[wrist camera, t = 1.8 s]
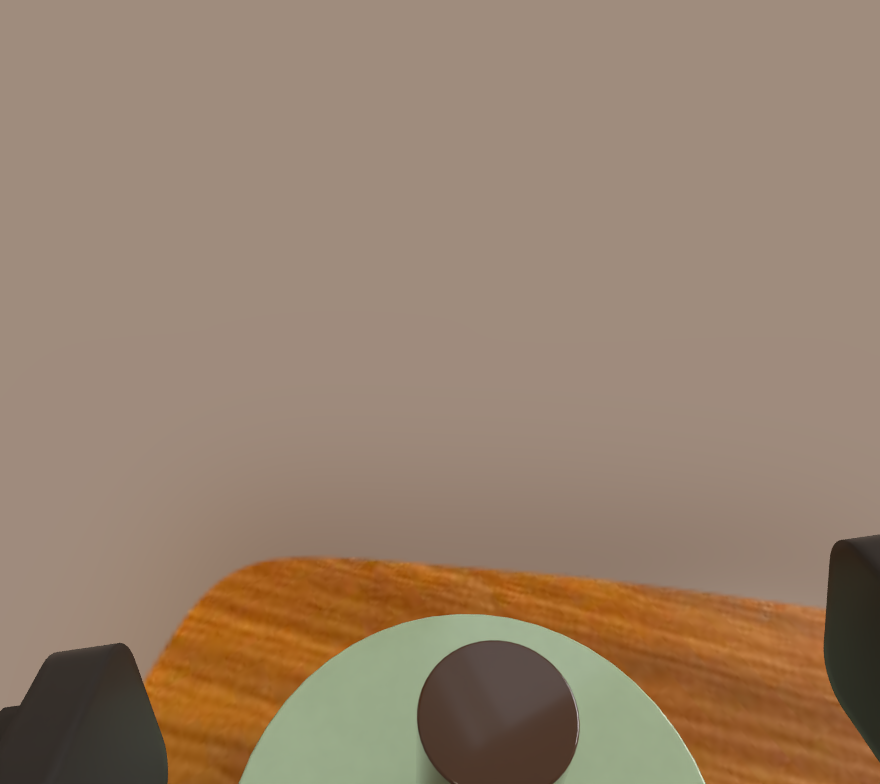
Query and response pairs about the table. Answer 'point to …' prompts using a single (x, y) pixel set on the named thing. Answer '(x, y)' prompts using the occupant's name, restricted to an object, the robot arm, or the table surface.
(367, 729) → the pot lid
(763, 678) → the table surface
